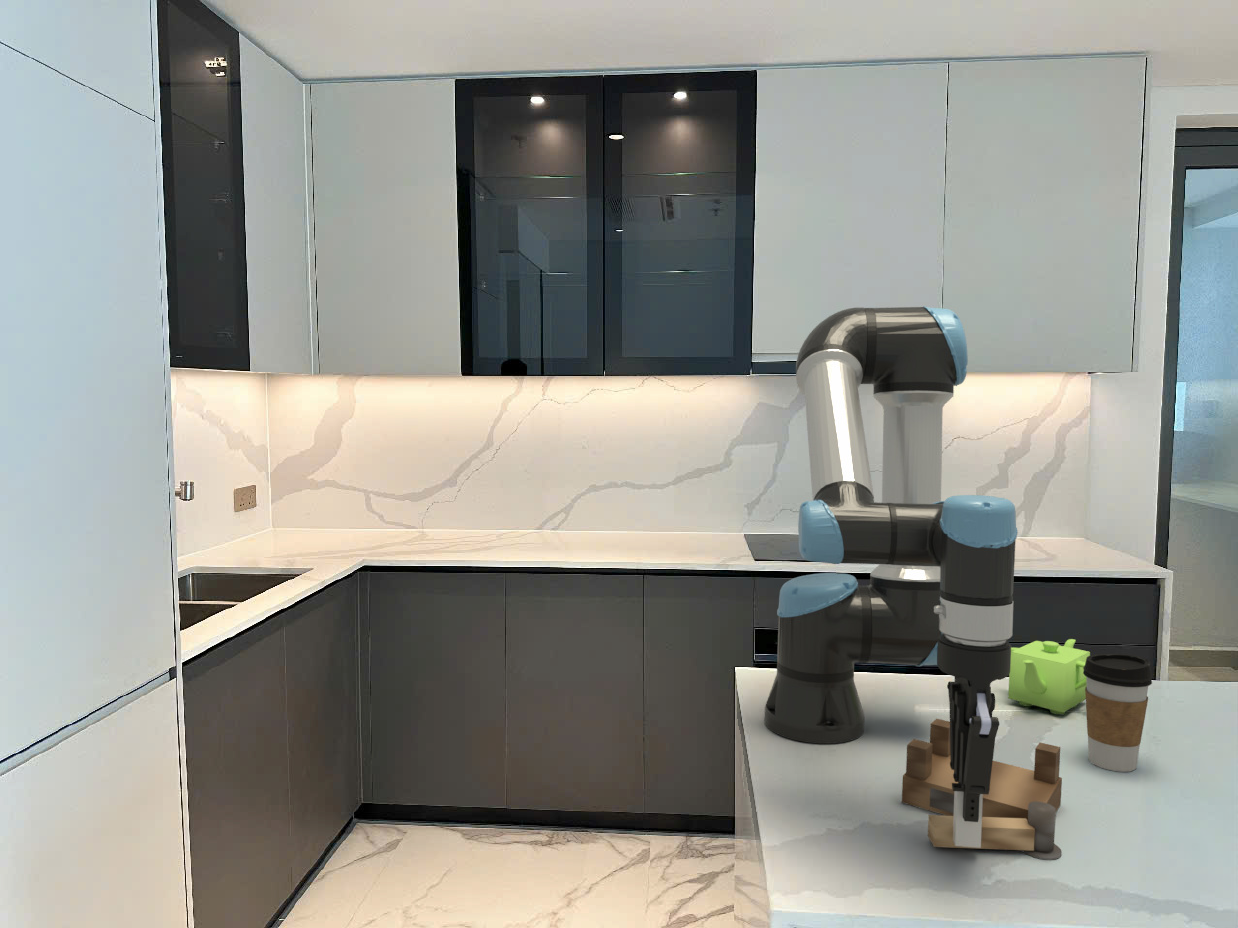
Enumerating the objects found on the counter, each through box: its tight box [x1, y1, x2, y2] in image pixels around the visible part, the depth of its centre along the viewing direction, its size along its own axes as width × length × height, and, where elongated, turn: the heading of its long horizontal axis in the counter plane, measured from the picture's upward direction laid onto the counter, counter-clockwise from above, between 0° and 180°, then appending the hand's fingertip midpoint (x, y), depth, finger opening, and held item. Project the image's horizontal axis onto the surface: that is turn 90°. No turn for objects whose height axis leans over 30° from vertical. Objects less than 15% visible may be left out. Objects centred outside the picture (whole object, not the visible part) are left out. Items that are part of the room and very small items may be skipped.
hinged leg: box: [927, 801, 1057, 852], centre depth 101 cm, size 14×3×4 cm, turn 87°
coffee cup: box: [1083, 653, 1153, 773], centre depth 124 cm, size 8×8×15 cm
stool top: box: [901, 718, 1063, 861], centre depth 109 cm, size 19×16×8 cm
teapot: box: [1007, 638, 1091, 715], centre depth 147 cm, size 15×13×11 cm
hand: (966, 843), depth 99 cm, fingers closed
